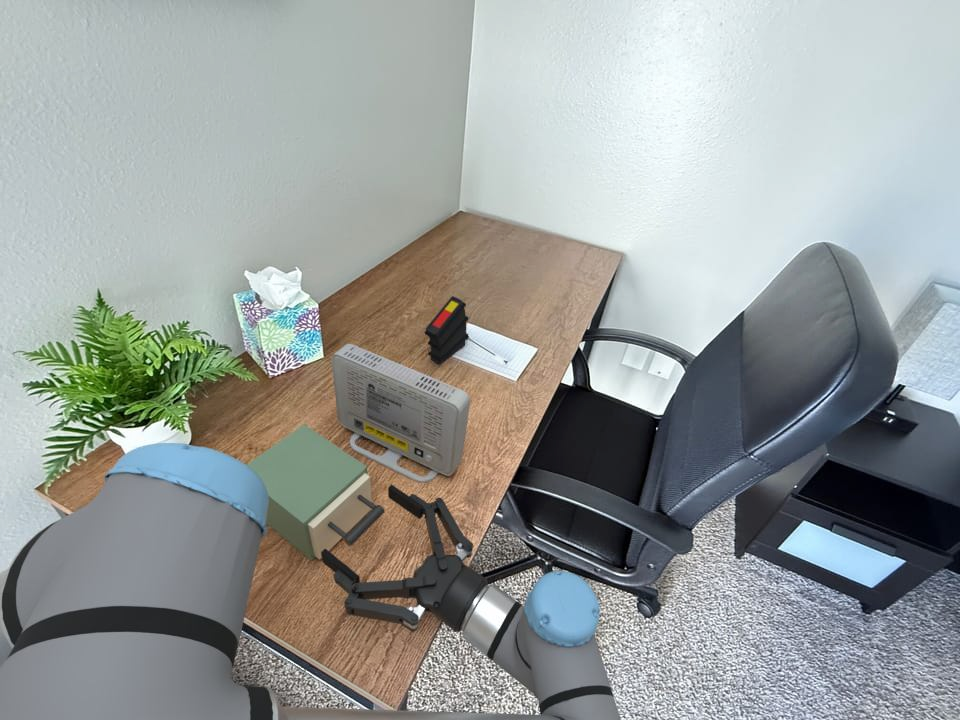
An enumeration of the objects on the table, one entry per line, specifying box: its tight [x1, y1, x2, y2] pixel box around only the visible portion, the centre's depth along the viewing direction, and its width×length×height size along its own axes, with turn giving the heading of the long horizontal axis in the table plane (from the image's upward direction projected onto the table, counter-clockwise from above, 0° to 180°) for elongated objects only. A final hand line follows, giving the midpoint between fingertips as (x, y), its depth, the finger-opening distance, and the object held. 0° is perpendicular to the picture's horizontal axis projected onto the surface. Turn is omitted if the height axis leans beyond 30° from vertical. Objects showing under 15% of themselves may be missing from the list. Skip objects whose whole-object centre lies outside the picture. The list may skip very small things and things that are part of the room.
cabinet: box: [246, 423, 369, 562], centre depth 75 cm, size 15×13×11 cm
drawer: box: [308, 473, 386, 560], centre depth 74 cm, size 18×11×9 cm, turn 57°
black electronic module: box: [424, 295, 469, 365], centre depth 112 cm, size 4×13×15 cm, turn 146°
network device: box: [330, 343, 471, 484], centre depth 84 cm, size 26×9×20 cm, turn 65°
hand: (358, 520), depth 70 cm, fingers open, 13 cm apart
